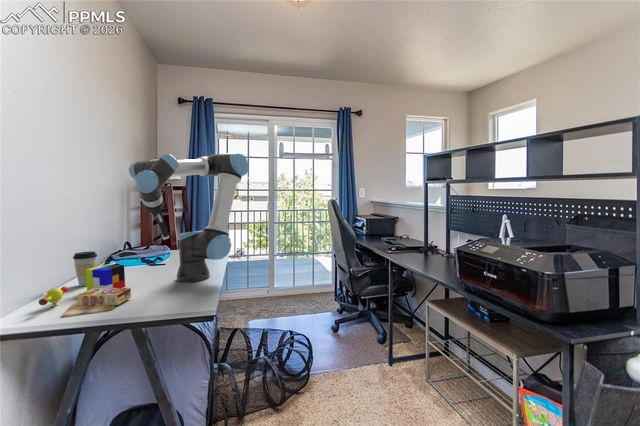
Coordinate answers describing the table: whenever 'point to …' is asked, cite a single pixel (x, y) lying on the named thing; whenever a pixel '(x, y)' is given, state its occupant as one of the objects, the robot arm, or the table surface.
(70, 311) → the cork mat
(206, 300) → the table surface
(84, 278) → the coffee cup
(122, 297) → the candy box
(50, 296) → the toy figure
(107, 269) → the puzzle toy
